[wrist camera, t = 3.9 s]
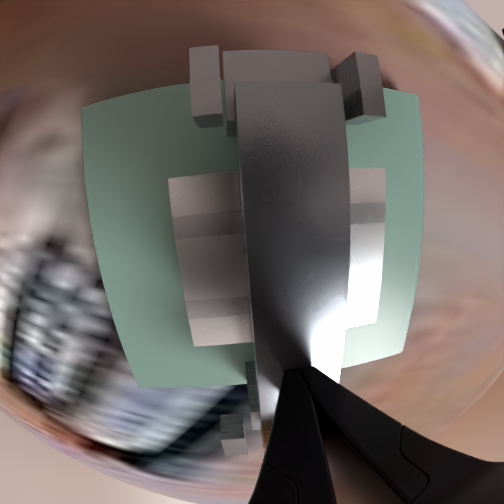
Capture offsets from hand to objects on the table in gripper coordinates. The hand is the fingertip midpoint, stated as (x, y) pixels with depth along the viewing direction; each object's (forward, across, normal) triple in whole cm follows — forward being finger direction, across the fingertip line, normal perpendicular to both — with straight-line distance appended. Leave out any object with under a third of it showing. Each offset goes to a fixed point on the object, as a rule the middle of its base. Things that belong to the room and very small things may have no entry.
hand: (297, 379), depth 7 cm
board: (+5, 0, -3) cm, 6 cm away
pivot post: (+5, 0, -8) cm, 10 cm away
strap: (+1, 0, -2) cm, 2 cm away
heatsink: (+4, 0, -3) cm, 5 cm away
